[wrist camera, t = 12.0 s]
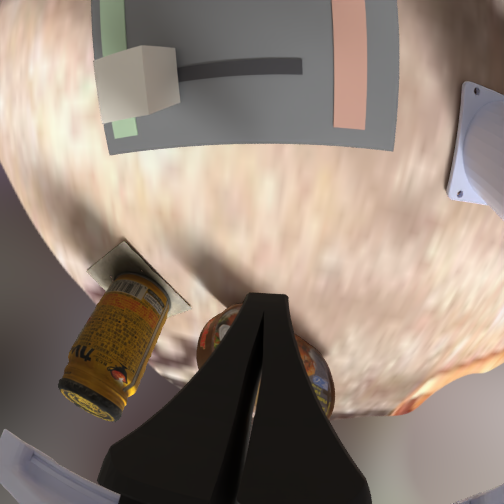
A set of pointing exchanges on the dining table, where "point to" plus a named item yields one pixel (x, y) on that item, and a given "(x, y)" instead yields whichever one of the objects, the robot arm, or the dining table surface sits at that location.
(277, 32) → the grey board
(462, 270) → the dining table surface
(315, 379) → the tin
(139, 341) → the condiment
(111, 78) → the handle
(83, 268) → the dining table surface
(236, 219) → the dining table surface
